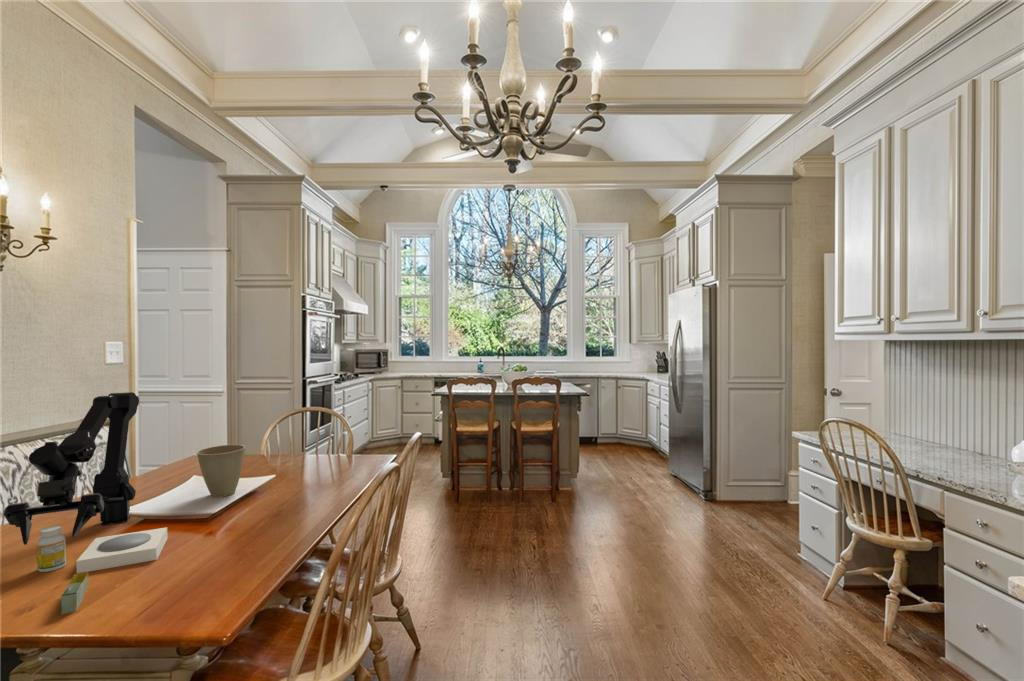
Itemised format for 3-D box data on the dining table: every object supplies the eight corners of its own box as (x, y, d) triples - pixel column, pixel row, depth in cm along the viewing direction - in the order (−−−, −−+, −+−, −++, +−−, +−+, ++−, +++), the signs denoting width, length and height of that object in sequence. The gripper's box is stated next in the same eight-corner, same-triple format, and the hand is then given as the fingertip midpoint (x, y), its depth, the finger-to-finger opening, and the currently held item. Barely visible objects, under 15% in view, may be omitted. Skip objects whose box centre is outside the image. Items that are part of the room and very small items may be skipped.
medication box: (76, 612, 108) (76, 593, 108) (59, 616, 107) (59, 596, 107) (88, 588, 119) (88, 570, 119) (73, 591, 118) (73, 573, 118)
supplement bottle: (61, 569, 129) (59, 530, 128) (33, 574, 126) (31, 534, 126) (70, 561, 134) (68, 523, 133) (43, 565, 131) (41, 526, 131)
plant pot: (254, 492, 189) (252, 447, 188) (208, 503, 178) (206, 456, 177) (236, 484, 199) (234, 442, 198) (192, 495, 187) (190, 450, 187)
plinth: (167, 538, 147) (167, 525, 147) (156, 559, 133) (156, 546, 133) (96, 549, 141) (95, 536, 141) (76, 573, 126) (76, 559, 126)
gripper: (4, 472, 129) (-13, 531, 120) (100, 461, 138) (90, 516, 128) (18, 496, 136) (2, 554, 127) (108, 484, 145) (99, 538, 135)
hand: (49, 540), depth 129 cm, fingers open, 9 cm apart
